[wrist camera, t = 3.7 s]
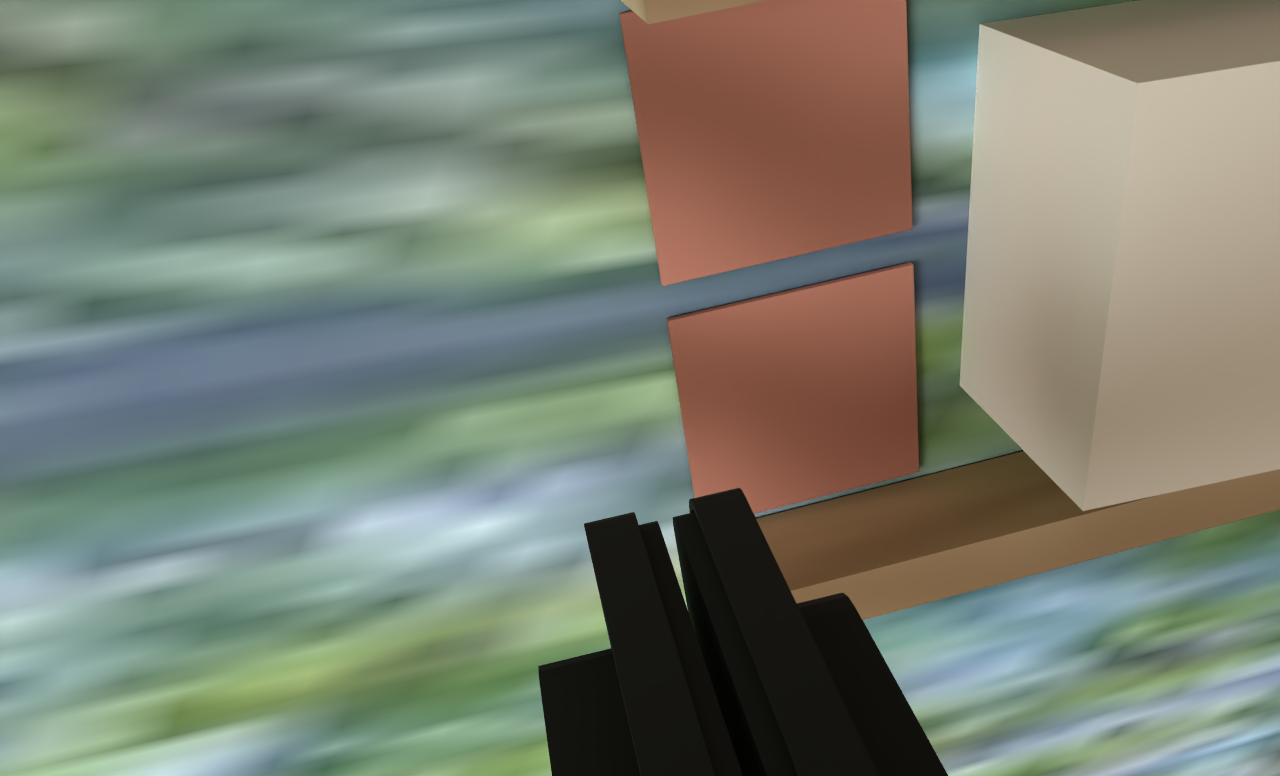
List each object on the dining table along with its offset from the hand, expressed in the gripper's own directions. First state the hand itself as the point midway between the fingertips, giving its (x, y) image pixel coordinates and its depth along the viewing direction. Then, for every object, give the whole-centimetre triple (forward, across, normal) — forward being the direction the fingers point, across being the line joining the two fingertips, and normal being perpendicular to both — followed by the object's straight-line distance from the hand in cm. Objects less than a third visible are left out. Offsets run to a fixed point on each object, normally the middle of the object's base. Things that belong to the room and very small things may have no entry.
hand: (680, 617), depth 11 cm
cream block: (+7, -9, -1) cm, 11 cm away
